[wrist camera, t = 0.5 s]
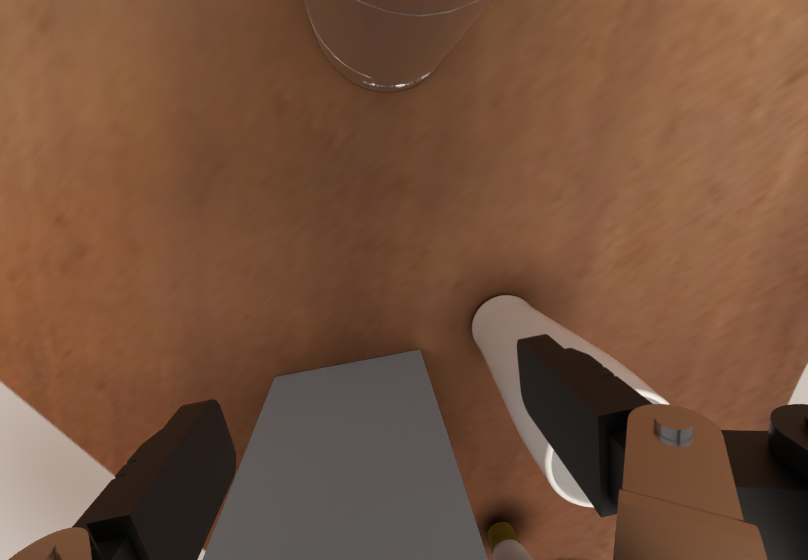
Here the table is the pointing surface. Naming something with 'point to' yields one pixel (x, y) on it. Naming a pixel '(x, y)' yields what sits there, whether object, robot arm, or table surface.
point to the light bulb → (506, 543)
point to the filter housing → (349, 472)
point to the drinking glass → (497, 342)
